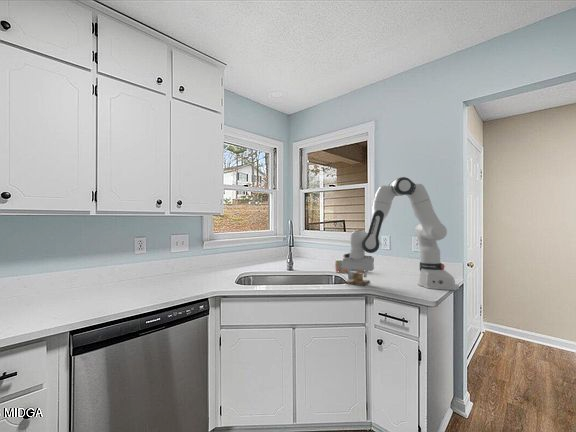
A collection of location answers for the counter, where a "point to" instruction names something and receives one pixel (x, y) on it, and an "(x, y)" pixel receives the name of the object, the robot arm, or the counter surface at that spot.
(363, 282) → the baseplate
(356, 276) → the oak block
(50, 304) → the counter surface
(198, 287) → the counter surface
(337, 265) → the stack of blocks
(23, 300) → the counter surface
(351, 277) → the slate block
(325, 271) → the counter surface
